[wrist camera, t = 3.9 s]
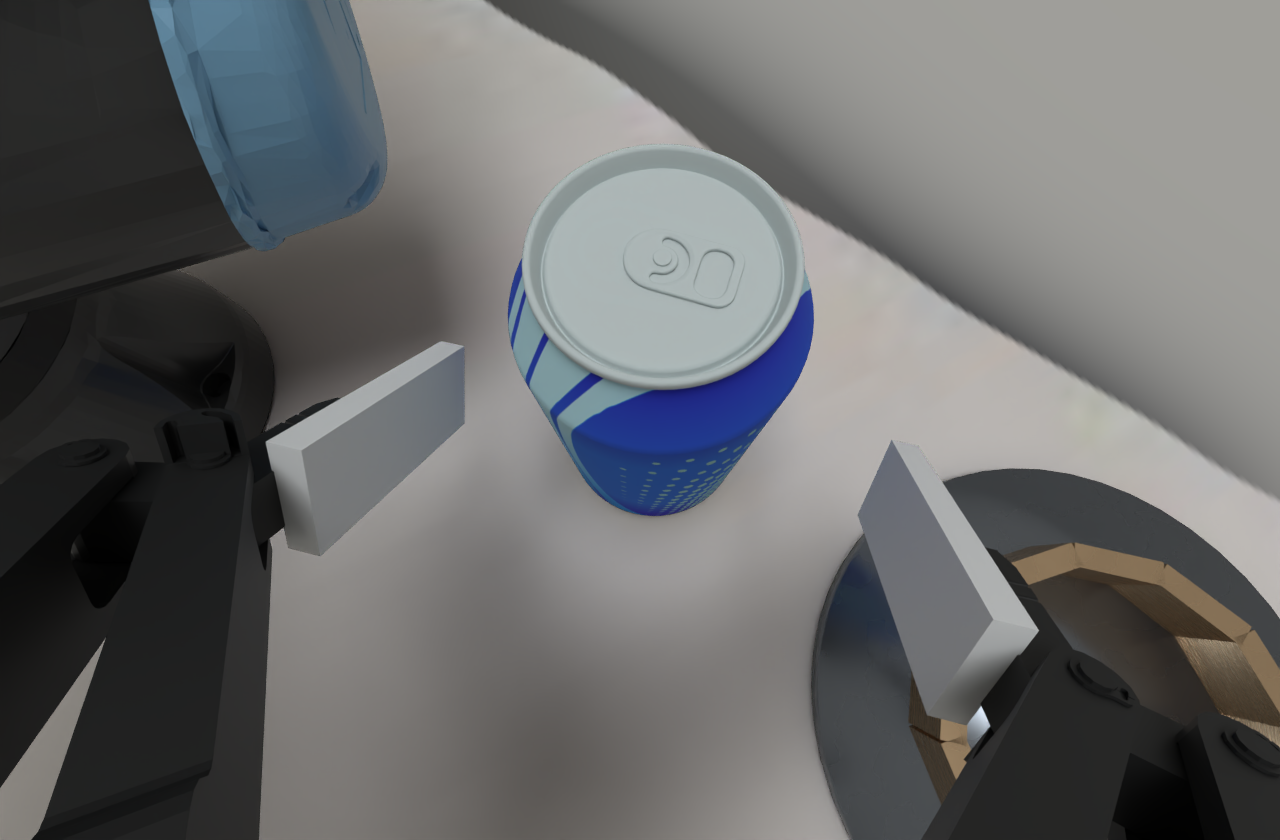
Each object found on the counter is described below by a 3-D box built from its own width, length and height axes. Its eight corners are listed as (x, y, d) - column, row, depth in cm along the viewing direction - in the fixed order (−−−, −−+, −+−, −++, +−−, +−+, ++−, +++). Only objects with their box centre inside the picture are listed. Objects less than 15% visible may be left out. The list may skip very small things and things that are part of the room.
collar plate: (712, 724, 23) (724, 749, 19) (976, 390, 28) (1021, 364, 24) (1182, 1205, 18) (1303, 1345, 15) (1403, 700, 23) (1532, 721, 19)
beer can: (628, 551, 25) (600, 505, 10) (546, 416, 27) (420, 209, 12) (764, 462, 26) (925, 301, 11) (675, 340, 29) (708, 67, 13)
